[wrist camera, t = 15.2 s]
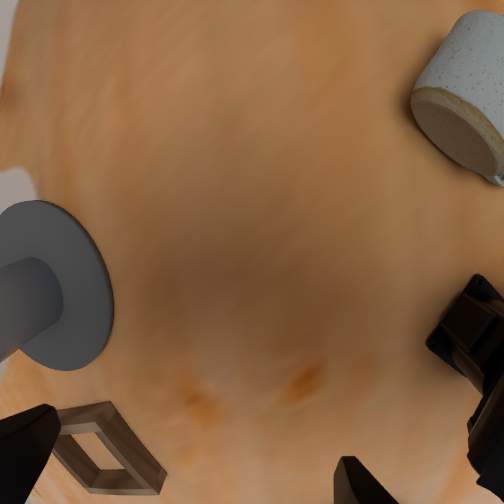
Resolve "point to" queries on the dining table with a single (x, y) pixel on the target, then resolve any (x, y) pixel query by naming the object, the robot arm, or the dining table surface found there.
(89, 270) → the rubber mat
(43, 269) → the jug
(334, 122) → the dining table surface
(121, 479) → the jug holder
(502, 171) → the ceramic mug
